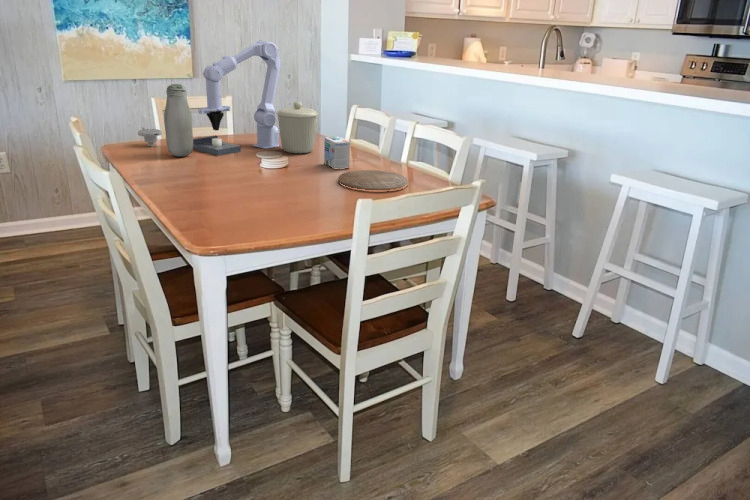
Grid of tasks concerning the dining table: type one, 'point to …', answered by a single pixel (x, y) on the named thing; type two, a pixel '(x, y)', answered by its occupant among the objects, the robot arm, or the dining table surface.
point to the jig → (206, 146)
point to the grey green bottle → (178, 121)
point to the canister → (297, 128)
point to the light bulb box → (337, 152)
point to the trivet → (372, 180)
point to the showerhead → (150, 135)
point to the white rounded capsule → (216, 142)
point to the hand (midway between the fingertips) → (216, 130)
